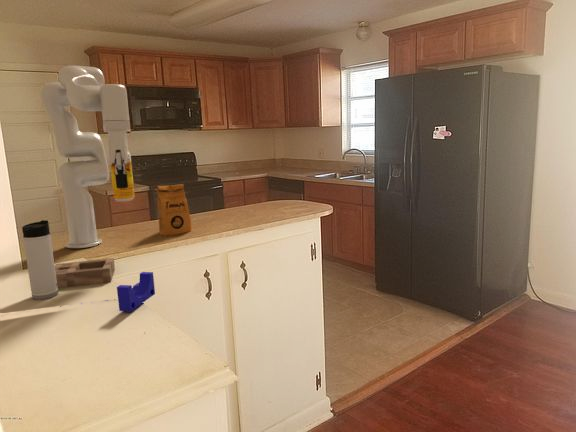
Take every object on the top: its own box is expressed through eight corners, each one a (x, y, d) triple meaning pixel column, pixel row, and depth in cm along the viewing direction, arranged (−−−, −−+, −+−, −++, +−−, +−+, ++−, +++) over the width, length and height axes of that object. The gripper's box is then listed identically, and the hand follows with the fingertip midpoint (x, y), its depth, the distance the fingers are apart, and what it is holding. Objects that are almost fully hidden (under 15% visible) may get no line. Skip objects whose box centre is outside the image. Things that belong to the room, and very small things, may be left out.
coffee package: (193, 239, 182) (189, 184, 178) (162, 242, 177) (157, 187, 173) (189, 234, 191) (185, 182, 187) (159, 238, 186) (154, 184, 182)
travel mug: (64, 292, 124) (55, 220, 120) (44, 300, 118) (33, 225, 114) (47, 290, 126) (37, 219, 122) (26, 298, 120) (15, 224, 116)
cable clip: (139, 293, 121) (137, 271, 120) (155, 293, 120) (152, 272, 119) (113, 310, 110) (111, 286, 108) (130, 311, 109) (128, 287, 108)
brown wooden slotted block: (57, 276, 138) (55, 264, 137) (115, 270, 142) (113, 258, 142) (47, 289, 127) (46, 275, 126) (110, 282, 131) (109, 268, 130)
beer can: (123, 202, 136) (117, 151, 133) (110, 201, 139) (104, 152, 136) (139, 199, 141) (134, 150, 138) (126, 198, 144) (121, 150, 142)
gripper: (106, 127, 143) (112, 184, 147) (100, 127, 127) (107, 190, 130) (131, 127, 145) (137, 183, 149) (128, 126, 129) (134, 188, 132)
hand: (123, 186), depth 139 cm, fingers closed on beer can, 6 cm apart
